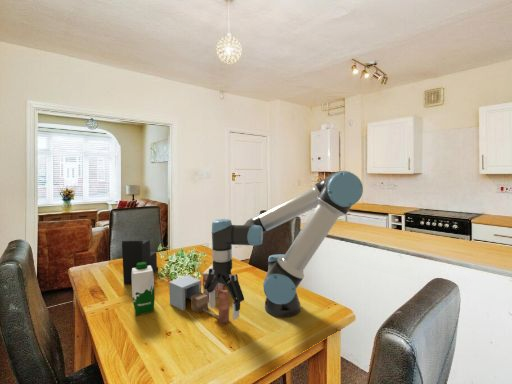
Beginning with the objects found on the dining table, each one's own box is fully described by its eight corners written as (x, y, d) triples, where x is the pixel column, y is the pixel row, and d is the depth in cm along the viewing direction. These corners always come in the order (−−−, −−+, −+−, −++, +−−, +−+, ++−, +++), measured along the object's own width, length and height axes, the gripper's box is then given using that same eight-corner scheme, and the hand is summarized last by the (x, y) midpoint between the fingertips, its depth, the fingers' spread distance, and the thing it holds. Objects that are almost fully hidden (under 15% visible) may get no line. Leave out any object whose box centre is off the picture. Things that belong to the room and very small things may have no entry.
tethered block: (232, 320, 109) (231, 291, 108) (222, 326, 106) (221, 295, 105) (200, 305, 122) (200, 279, 122) (191, 309, 119) (190, 282, 118)
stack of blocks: (217, 280, 150) (216, 258, 150) (228, 281, 149) (228, 259, 148) (203, 298, 129) (202, 272, 129) (216, 299, 128) (215, 273, 127)
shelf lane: (201, 302, 125) (200, 280, 125) (183, 310, 118) (182, 287, 117) (188, 296, 132) (187, 275, 131) (169, 303, 124) (169, 281, 124)
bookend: (141, 269, 171) (139, 231, 169) (158, 269, 171) (157, 231, 169) (123, 284, 147) (120, 241, 146) (143, 284, 147) (141, 241, 146)
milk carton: (153, 303, 125) (151, 260, 124) (156, 312, 117) (154, 265, 116) (132, 307, 121) (130, 263, 120) (133, 317, 113) (131, 269, 112)
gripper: (253, 263, 102) (254, 318, 103) (208, 251, 118) (210, 300, 119) (239, 268, 96) (240, 327, 98) (194, 255, 112) (196, 306, 114)
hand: (223, 312), depth 108 cm, fingers open, 13 cm apart
